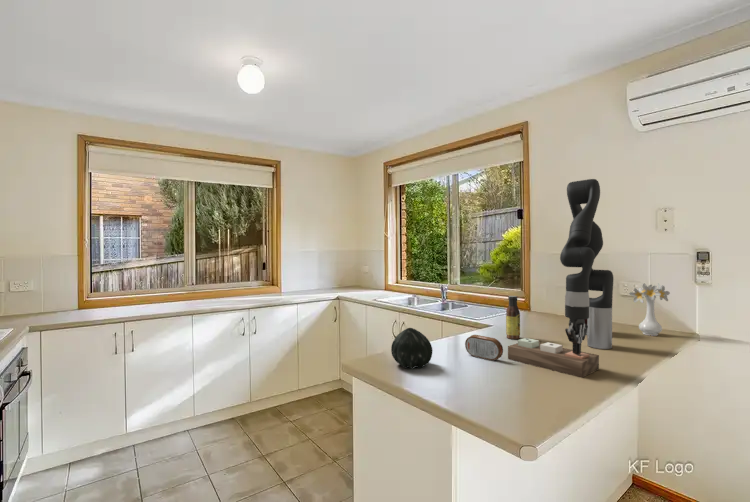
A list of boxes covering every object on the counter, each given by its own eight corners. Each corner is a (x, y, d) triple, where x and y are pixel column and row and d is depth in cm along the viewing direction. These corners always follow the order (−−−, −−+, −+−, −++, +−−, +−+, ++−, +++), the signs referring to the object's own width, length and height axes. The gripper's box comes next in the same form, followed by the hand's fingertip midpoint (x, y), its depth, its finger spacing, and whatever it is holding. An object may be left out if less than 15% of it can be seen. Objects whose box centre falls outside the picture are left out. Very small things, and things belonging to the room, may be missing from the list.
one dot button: (547, 351, 144) (547, 341, 144) (562, 354, 139) (562, 344, 139) (540, 354, 140) (540, 344, 140) (555, 357, 136) (555, 347, 136)
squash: (423, 342, 149) (402, 316, 145) (446, 353, 136) (423, 325, 131) (399, 370, 145) (376, 344, 140) (420, 384, 132) (395, 356, 127)
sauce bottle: (521, 340, 175) (521, 297, 175) (507, 339, 177) (507, 296, 176) (518, 336, 182) (518, 295, 182) (505, 336, 183) (505, 295, 183)
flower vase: (625, 334, 187) (625, 283, 187) (646, 330, 195) (646, 281, 195) (655, 339, 175) (655, 286, 175) (675, 335, 184) (676, 284, 184)
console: (526, 352, 155) (527, 340, 155) (598, 369, 134) (598, 355, 134) (507, 359, 146) (507, 346, 146) (581, 377, 125) (581, 362, 125)
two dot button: (525, 346, 151) (525, 337, 151) (539, 349, 146) (539, 340, 146) (517, 349, 147) (517, 339, 147) (531, 352, 143) (531, 342, 143)
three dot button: (572, 360, 137) (572, 350, 137) (588, 364, 132) (588, 353, 132) (565, 363, 133) (565, 353, 133) (581, 367, 129) (581, 356, 129)
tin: (503, 361, 144) (503, 339, 143) (499, 363, 141) (499, 340, 141) (467, 353, 154) (467, 332, 154) (463, 355, 151) (463, 334, 151)
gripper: (574, 301, 140) (574, 348, 140) (557, 304, 131) (557, 354, 131) (596, 303, 134) (596, 352, 134) (580, 307, 125) (579, 359, 126)
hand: (576, 353), depth 133 cm, fingers closed
